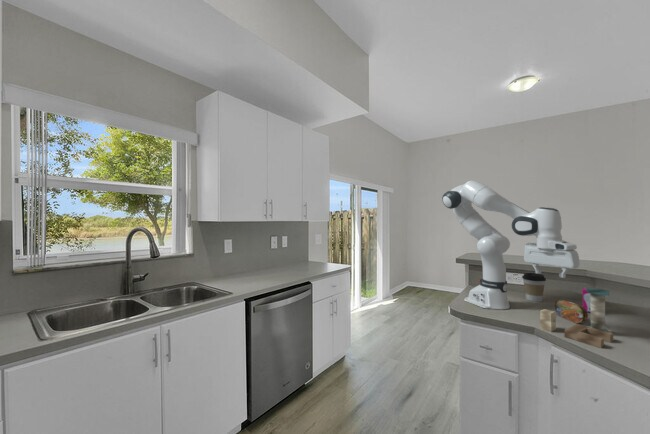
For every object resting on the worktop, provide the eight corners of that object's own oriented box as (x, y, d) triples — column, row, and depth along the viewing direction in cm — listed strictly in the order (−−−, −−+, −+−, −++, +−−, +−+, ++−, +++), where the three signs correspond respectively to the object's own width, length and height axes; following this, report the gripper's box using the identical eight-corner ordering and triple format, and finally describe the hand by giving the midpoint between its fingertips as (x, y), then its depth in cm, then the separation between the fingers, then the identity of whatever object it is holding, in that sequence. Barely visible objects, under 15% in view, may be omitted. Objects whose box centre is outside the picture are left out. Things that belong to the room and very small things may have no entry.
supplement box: (598, 311, 142) (597, 289, 142) (598, 314, 138) (598, 291, 138) (582, 308, 146) (582, 287, 146) (582, 311, 142) (582, 289, 141)
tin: (554, 314, 139) (554, 297, 139) (560, 314, 139) (560, 297, 139) (582, 326, 124) (582, 307, 124) (589, 326, 124) (589, 307, 124)
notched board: (564, 336, 113) (564, 329, 113) (577, 330, 119) (577, 323, 119) (600, 348, 104) (600, 340, 104) (613, 340, 109) (613, 333, 109)
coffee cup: (523, 296, 169) (523, 271, 169) (547, 299, 162) (547, 274, 161) (520, 300, 161) (520, 274, 161) (545, 304, 153) (544, 277, 153)
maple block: (540, 328, 122) (540, 310, 122) (544, 326, 124) (544, 309, 123) (551, 332, 118) (551, 313, 118) (555, 330, 120) (555, 311, 120)
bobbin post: (583, 331, 118) (583, 289, 118) (590, 327, 122) (590, 287, 122) (605, 337, 112) (605, 293, 112) (612, 333, 116) (612, 290, 115)
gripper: (520, 242, 130) (521, 272, 130) (571, 246, 111) (572, 280, 111) (529, 242, 132) (530, 271, 132) (581, 245, 113) (582, 279, 113)
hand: (550, 275), depth 121 cm, fingers open, 8 cm apart
